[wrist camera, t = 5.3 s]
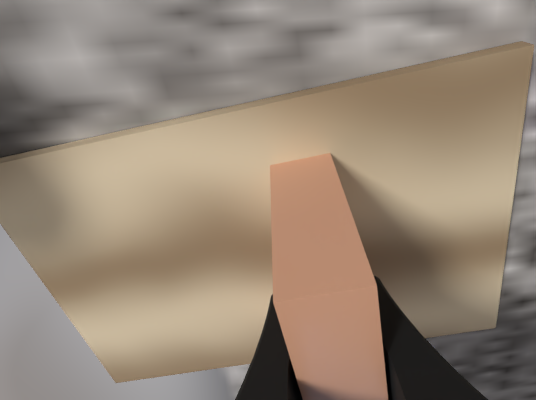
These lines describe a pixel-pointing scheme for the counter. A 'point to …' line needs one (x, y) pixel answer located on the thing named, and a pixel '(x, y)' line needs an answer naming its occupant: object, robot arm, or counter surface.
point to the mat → (259, 209)
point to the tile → (324, 285)
